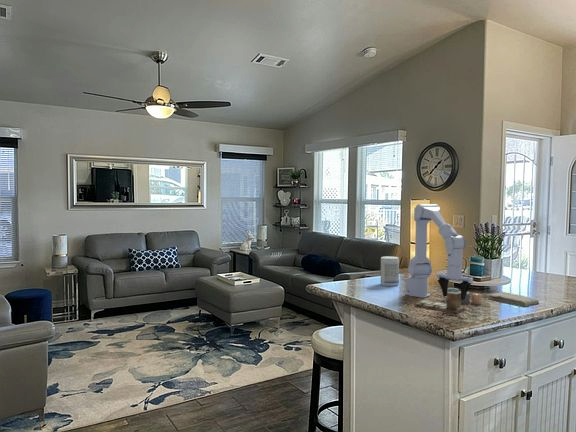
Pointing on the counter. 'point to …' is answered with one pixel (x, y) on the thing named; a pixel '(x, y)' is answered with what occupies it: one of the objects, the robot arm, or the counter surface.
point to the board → (438, 306)
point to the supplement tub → (390, 271)
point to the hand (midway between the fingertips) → (453, 297)
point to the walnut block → (454, 300)
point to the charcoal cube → (465, 298)
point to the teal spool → (452, 289)
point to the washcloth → (513, 299)
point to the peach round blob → (476, 298)
